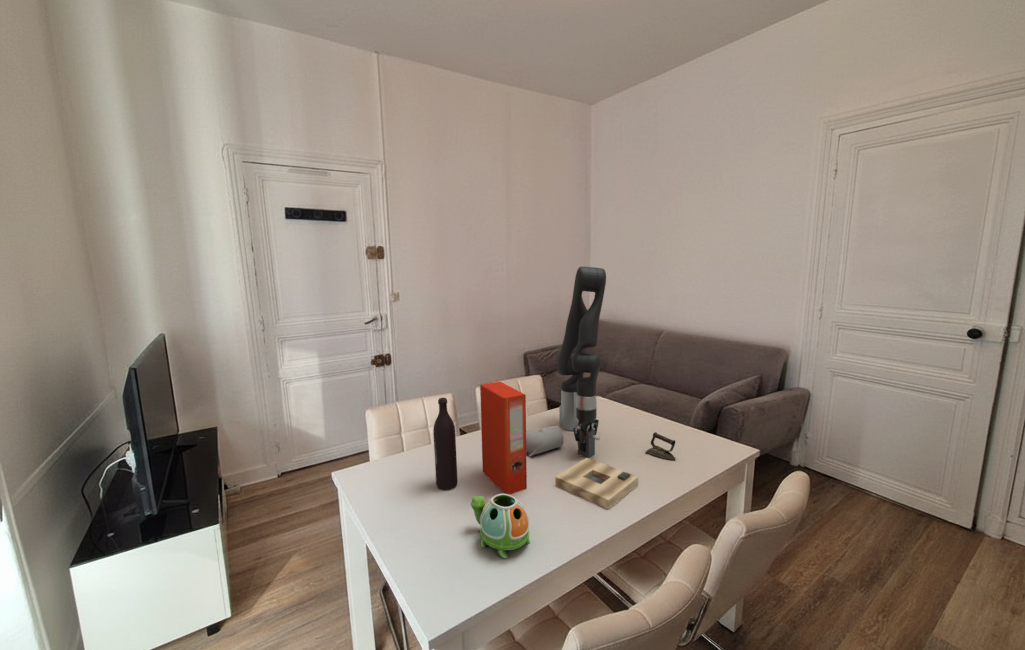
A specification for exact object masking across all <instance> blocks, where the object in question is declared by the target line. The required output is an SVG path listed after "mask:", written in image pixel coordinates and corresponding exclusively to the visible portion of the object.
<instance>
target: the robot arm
mask: <svg viewBox="0 0 1025 650" xmlns="http://www.w3.org/2000/svg"><path fill="white" fill-rule="evenodd" d="M606 283H607V273H606V270H605V269H604V268H603V267H594V266H593V267H592V266H579V267H578V268H577V270H576V273H575V277H574V284H573V291H572V299H571V303H570V304H571V305H570V308H569V311H568V316H567V321H566V326H565V332H564V336H563V341H562V344H561V347H560V350H559V354H558V357H557V362H556V363H557V364H556V368H557V369H556V370H557V372H558V374H559V375H561V376H570V377H569V378H567V379H566V380H564V381H562V382H561V383H560V391H561V393H560V397H561V398H560V399H561V400H560V401H561V402H560V403H561V404H560V405H559V406H558V407H559V427H561V428H562V429H563V430H565V431H570V432H571V431H573V435H574V438H575V439H574V440H575V442H577V443H578V442H580V451H582V452H585V451H586V437H587V432H588V431H589V430H593V429H594V430H595V436H597V433H598V427H599V422H600V421H599V419H597V411H598V410H597V406H598V405H597V403H598V402H597V380H598V376H599V372H600V369H601V366H602V359H601V357H600V356H599V355H598V354H595V353H584V351H586V349H591V348H595V347H597V346H598V339H599V325H600V324H599V323H600V317H601V313H602V307H603V302H604V296H605V291H606ZM583 292H588V293H589V292H590V293H594V297H593V300H592V303H591V305H590V307H589V308H588V309H587V306H586V305H585V304H586V303H584V302H585V301H584V300H583ZM573 352H574V353H573ZM585 373H586V374H589V376H586V377H585V376H584V374H585ZM581 432H583V433H585V434H582V433H581ZM582 436H583V439H582Z"/></svg>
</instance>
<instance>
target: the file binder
mask: <svg viewBox="0 0 1025 650" xmlns="http://www.w3.org/2000/svg"><path fill="white" fill-rule="evenodd" d="M479 389H480V423H481V424H480V425H481V427H480V429H481V460H482V461H481V463H482V466H481V467H482V473H484V475H485V476H486V477H487V478H488V479H489V480H490V481H492V483H494V484H495V486H497V488H498V489H499V490H500V491H501V492H502V494H508V495H513V494H515V493H519V492H521V491H524V490H526V489H527V488H528V487H527V486H528V483H527V477H528V476H527V475H528V473H527V452H526V430H527V408H526V407H527V403H526V402H527V401H526V399H527V395H526V393H523V392H521V391H519V390H517V388H514V387H512V386H510V385H507V384H506V383H504V382H502V381H495V382H489V383H483V384H480V385H479Z"/></svg>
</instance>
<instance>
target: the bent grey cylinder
mask: <svg viewBox="0 0 1025 650" xmlns="http://www.w3.org/2000/svg"><path fill="white" fill-rule="evenodd" d="M562 431H563V430H562V429H561V428H560V426H558V425H552V426H548V427H545V428H541V429H539V431H536V430H531V429H526V453H528V457H532V456H535V455H539V454H542V453H544V452H548V451H551V450H554V449H557V448H560V447H562V446H564V441H565V438H564V433H563V432H562Z"/></svg>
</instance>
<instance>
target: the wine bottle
mask: <svg viewBox="0 0 1025 650" xmlns="http://www.w3.org/2000/svg"><path fill="white" fill-rule="evenodd" d="M437 402H438V403H437V404H438V415H437V417H436V419H435V421H434V423H433V428H432V429H433V432H432V433H433V451H434V466H435V467H434V468H435V484H436V487H437V489H438V490H441V491H449V490H453V489H455V488H456V487H457V486H458V465H457V464H458V462H457V460H458V459H457V442H456V440H457V439H456V427H455V424H454V420H453V419H452V417H451V415H450V414H449V411H448V399H447V397H439V398H438V401H437Z"/></svg>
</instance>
